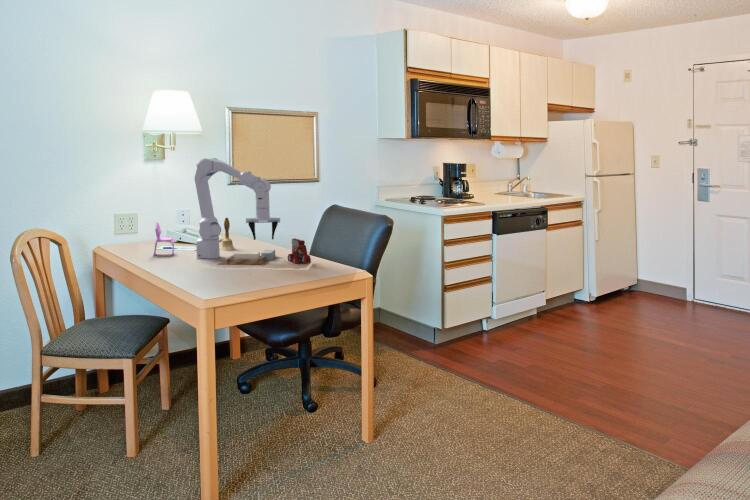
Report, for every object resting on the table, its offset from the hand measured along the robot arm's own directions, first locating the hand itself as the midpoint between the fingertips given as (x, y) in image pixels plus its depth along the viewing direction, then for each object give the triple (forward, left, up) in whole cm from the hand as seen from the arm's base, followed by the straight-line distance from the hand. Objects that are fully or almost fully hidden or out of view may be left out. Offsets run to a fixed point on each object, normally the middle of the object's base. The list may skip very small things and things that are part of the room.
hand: (263, 239), depth 254 cm
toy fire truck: (+16, -5, -10) cm, 20 cm away
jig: (-7, -3, -10) cm, 12 cm away
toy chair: (-50, +11, -10) cm, 52 cm away
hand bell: (-24, +23, -10) cm, 35 cm away
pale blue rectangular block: (+1, +2, -9) cm, 9 cm away
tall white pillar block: (-5, -8, -9) cm, 13 cm away
